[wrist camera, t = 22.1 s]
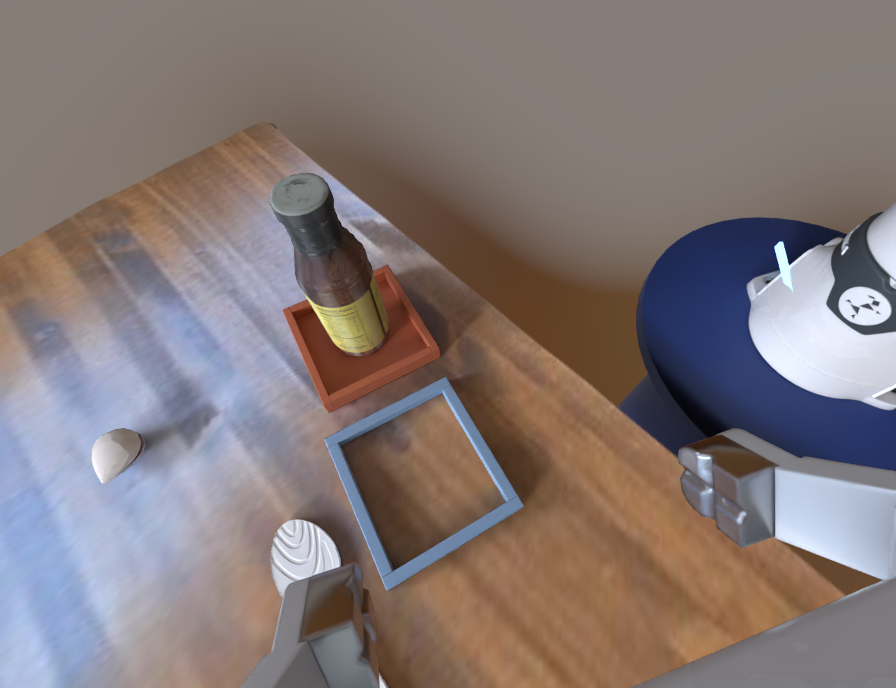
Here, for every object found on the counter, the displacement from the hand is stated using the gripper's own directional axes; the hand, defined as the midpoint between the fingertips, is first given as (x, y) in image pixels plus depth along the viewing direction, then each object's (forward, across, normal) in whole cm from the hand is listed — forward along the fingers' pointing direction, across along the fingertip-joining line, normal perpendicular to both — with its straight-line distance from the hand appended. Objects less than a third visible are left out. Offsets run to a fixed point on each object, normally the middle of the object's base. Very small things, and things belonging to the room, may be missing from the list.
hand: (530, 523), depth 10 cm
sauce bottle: (+37, +5, +3) cm, 38 cm away
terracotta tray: (+37, +5, +3) cm, 38 cm away
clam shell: (+33, +29, +8) cm, 45 cm away
